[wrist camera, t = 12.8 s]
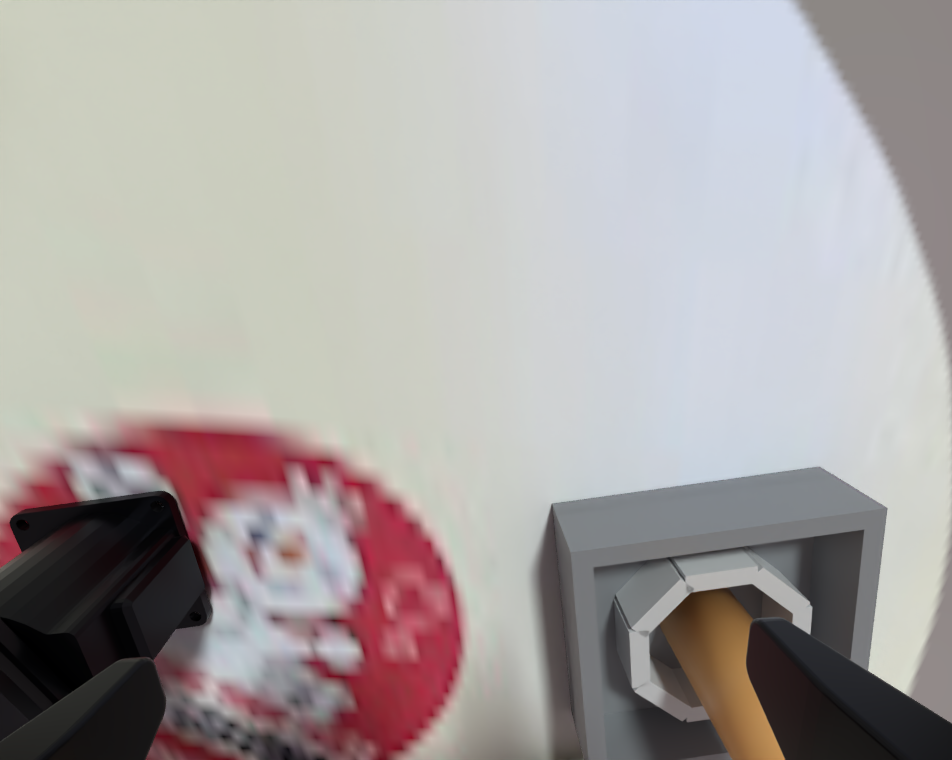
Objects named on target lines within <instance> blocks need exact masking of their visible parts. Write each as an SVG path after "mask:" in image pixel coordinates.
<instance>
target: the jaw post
mask: <svg viewBox="0 0 952 760" xmlns="http://www.w3.org/2000/svg"><path fill="white" fill-rule="evenodd" d="M752 621H753V618H752V617H751V616H750V615H749V613H748V612H747V611H746V610H745V608H744V607H743V606H742V605H741V603H740V602H739V601H738V600H737V598H736V597H735V596H734V595H733V593H732V592H731V591H730V590H729V589H728V588H727V587H726V588H719V589H712V590H705V591H698V592H691V593H690V594H689V595H688V596H687V597H686V598H685V599H684V600H683V601H682V602H681V603H680V604H679V605H678V606H677V607H676V608H675V609H674V610H673V611H672V612H671V613H670V614H669V615H668V616H667V617H666V618H665V619H664V620H663V621H662V622H661V623H660V627H661V630H662V632H663V633H664V635H665V637H666V639H667V641H668V643H669V644H670V646H671V648H672V650H673V652H674V654H675V656H676V657H677V659H678V661H679V663H680V665H681V667H682V668H683V670H684V672H685V674H686V676H687V678H688V679H689V681H690V683H691V685H692V687H693V689H694V691H695V692H696V694H697V696H698V698H699V700H700V702H701V703H702V705H703V707H704V709H705V711H706V713H707V715H708V716H709V718H710V720H711V722H712V724H713V726H714V727H715V729H716V731H717V733H718V735H719V737H720V738H721V740H722V742H723V744H724V746H725V748H726V750H727V751H728V753H729V755H730V757H731V759H732V760H785V758H784V756H783V754H782V751H781V749H780V747H779V745H778V742H777V740H776V738H775V736H774V733H773V731H772V729H771V727H770V724H769V722H768V720H767V718H766V715H765V713H764V711H763V709H762V706H761V704H760V702H759V700H758V697H757V695H756V693H755V691H754V688H753V686H752V684H751V682H750V679H749V676H748V673H747V669H746V654H747V646H748V637H749V629H750V624H751V622H752Z"/></svg>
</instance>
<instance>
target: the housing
mask: <svg viewBox="0 0 952 760" xmlns="http://www.w3.org/2000/svg"><path fill="white" fill-rule="evenodd" d="M552 507H553V518H554V529H555V539H556V550H557V560H558V571H559V581H560V592H561V603H562V613H563V624H564V634H565V645H566V656H567V666H568V677H569V687H570V698H571V709H572V715H573V719H574V723H575V727H576V731H577V734H578V738H579V742H580V746H581V750H582V754H583V758H584V760H732V759H731V757H730V755H729V753H728V751H727V750H726V748H725V746H724V744H723V742H722V740H721V738H720V737H719V735H718V733H717V731H716V729H715V727H714V726H713V724H712V722H711V720H710V718H709V716H708V715H707V713H706V711H705V709H704V707H703V705H702V703H701V702H700V700H699V698H698V696H697V694H696V692H695V691H694V689H693V687H692V685H691V683H690V681H689V679H688V678H687V676H686V674H685V672H684V670H683V668H682V667H681V665H680V663H679V661H678V659H677V657H676V656H675V654H674V652H673V650H672V648H671V646H670V644H669V643H668V641H667V639H666V637H665V635H664V633H663V632H662V630H661V627H660V623H661V622H662V621H663V620H664V619H665V618H666V617H667V616H668V615H669V614H670V613H671V612H672V611H673V610H674V609H675V608H676V607H677V606H678V605H679V604H680V603H681V602H682V601H683V600H684V599H685V598H686V597H687V596H688V595H689V594H690V593H691V592H698V591H705V590H712V589H719V588H726V587H727V588H728V589H729V590H730V591H731V592H732V593H733V595H734V596H735V597H736V598H737V600H738V601H739V602H740V603H741V605H742V606H743V607H744V608H745V610H746V611H747V612H748V613H749V615H750V616H751V617H752V618H753V620H754V619H756V618H768V617H780V618H783V619H786V620H787V621H789V622H791V623H792V624H794V625H795V626H797V627H799V628H800V629H802V630H803V631H805V632H807V633H808V634H810V635H811V636H813V637H815V638H816V639H818V640H819V641H821V642H823V643H824V644H826V645H827V646H829V647H831V648H832V649H834V650H835V651H837V652H839V653H840V654H842V655H843V656H845V657H847V658H848V659H850V660H851V661H853V662H855V663H856V664H858V665H859V666H861V667H862V668H864V669H866V670H867V671H868V665H869V657H870V649H871V640H872V632H873V624H874V615H875V607H876V599H877V590H878V582H879V574H880V565H881V557H882V549H883V541H884V532H885V524H886V516H887V507H885V506H883V505H882V504H880V503H878V502H877V501H875V500H873V499H872V498H870V497H869V496H867V495H865V494H864V493H862V492H860V491H859V490H857V489H855V488H854V487H852V486H851V485H849V484H847V483H846V482H844V481H842V480H841V479H839V478H837V477H836V476H834V475H833V474H831V473H829V472H828V471H826V470H824V469H823V468H821V467H814V468H807V469H800V470H793V471H785V472H778V473H771V474H764V475H757V476H749V477H742V478H735V479H728V480H720V481H713V482H706V483H699V484H692V485H684V486H677V487H670V488H663V489H656V490H648V491H641V492H634V493H627V494H620V495H612V496H605V497H598V498H591V499H584V500H576V501H569V502H562V503H555V504H552Z"/></svg>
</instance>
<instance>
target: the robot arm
mask: <svg viewBox="0 0 952 760" xmlns="http://www.w3.org/2000/svg"><path fill="white" fill-rule="evenodd" d="M157 501H159V502H161V503H162V504H163V506H164V507H161V506H159V505H158V504H157ZM25 521H27V522H28V523H29V524H27V523H26V522H25ZM10 526H11V529H12V531H13V533H14V535H15V538H16V540H17V542H18V544H19V547H20V549H21V551H22V553H21V554H19V555H18V556H17V557H15V558H14V559H12V560H11V561H10V562H8V563H7V564H6V565H4V566H3V567H1V568H0V760H145V759H146V757H147V755H148V752H149V750H150V747H151V745H152V743H153V740H154V738H155V735H156V733H157V731H158V728H159V726H160V723H161V721H162V719H163V716H164V712H165V707H166V697H165V693H164V690H163V687H162V684H161V681H160V678H159V675H158V671H157V668H156V665H155V663H154V661H153V660H154V659H155V657H156V656H157V654H158V653H159V652H160V650H161V649H162V647H163V646H164V645H165V643H166V642H167V640H168V639H169V638H170V636H171V635H172V633H173V632H174V631H175V629H179V628H187V627H194V626H200V625H203V624H204V623H205V622H206V621H207V619H208V618H209V616H210V614H211V607H210V604H209V601H208V598H207V595H206V592H205V589H204V588H205V584H204V581H203V578H202V575H201V572H200V569H199V567H198V564H197V561H196V558H195V555H194V552H193V549H192V546H191V543H190V540H189V539H188V538H187V535H186V532H185V529H184V526H183V523H182V520H181V517H180V514H179V511H178V508H177V505H176V502H175V500H174V498H173V496H172V495H171V494H169V493H168V492H165V491H155V492H148V493H141V494H133V495H126V496H119V497H111V498H104V499H97V500H90V501H82V502H75V503H68V504H60V505H53V506H46V507H39V508H31V509H25V510H22V511H21V512H19V513H18V514H16V515H14V516H13V517H12V518H11V520H10ZM195 612H198V613H200V615H198V614H197V613H195ZM746 669H747V673H748V676H749V679H750V682H751V684H752V686H753V688H754V691H755V693H756V695H757V697H758V700H759V702H760V704H761V706H762V709H763V711H764V713H765V715H766V718H767V720H768V722H769V724H770V727H771V729H772V731H773V733H774V736H775V738H776V740H777V742H778V745H779V747H780V749H781V751H782V754H783V756H784V758H785V760H952V723H950V722H949V721H947V720H945V719H944V718H942V717H940V716H939V715H937V714H936V713H934V712H933V711H931V710H929V709H928V708H926V707H925V706H923V705H921V704H920V703H918V702H917V701H915V700H913V699H912V698H910V697H909V696H907V695H906V694H904V693H902V692H901V691H899V690H898V689H896V688H894V687H893V686H891V685H890V684H888V683H886V682H885V681H883V680H882V679H880V678H878V677H877V676H875V675H874V674H872V673H870V672H869V671H867V670H866V669H864V668H862V667H861V666H859V665H858V664H856V663H855V662H853V661H851V660H850V659H848V658H847V657H845V656H843V655H842V654H840V653H839V652H837V651H835V650H834V649H832V648H831V647H829V646H827V645H826V644H824V643H823V642H821V641H819V640H818V639H816V638H815V637H813V636H811V635H810V634H808V633H807V632H805V631H803V630H802V629H800V628H799V627H797V626H795V625H794V624H792V623H791V622H789V621H787V620H786V619H783V618H780V617H768V618H756V619H754V620H753V621H752V622H751V624H750V629H749V637H748V646H747V654H746Z"/></svg>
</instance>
